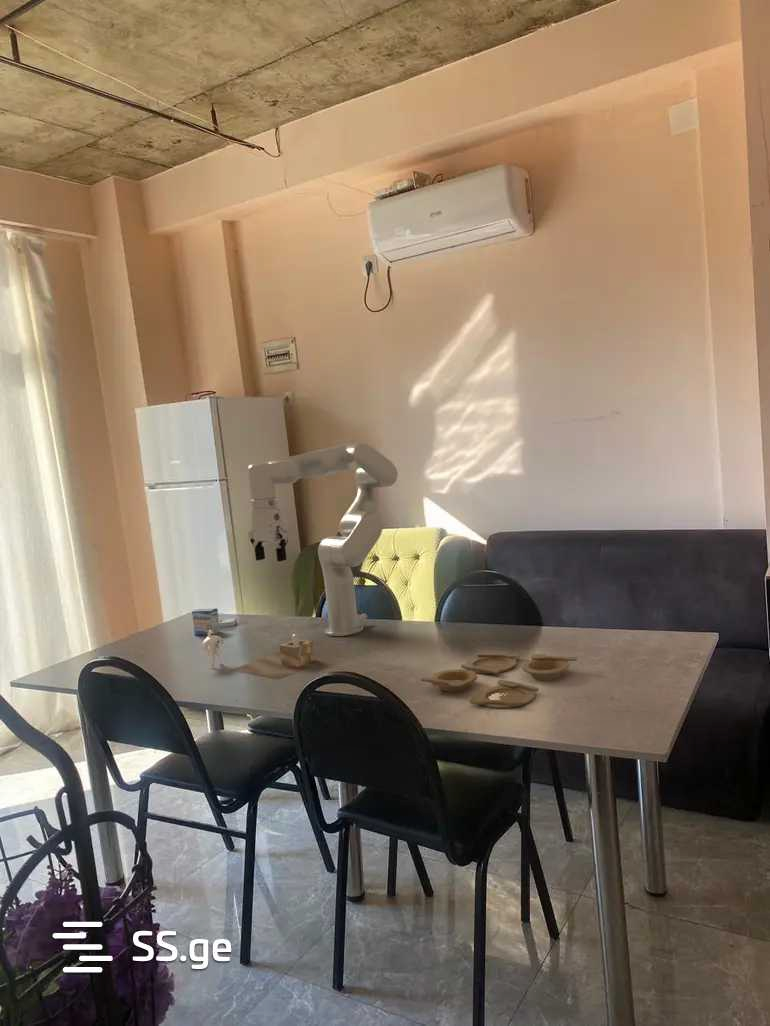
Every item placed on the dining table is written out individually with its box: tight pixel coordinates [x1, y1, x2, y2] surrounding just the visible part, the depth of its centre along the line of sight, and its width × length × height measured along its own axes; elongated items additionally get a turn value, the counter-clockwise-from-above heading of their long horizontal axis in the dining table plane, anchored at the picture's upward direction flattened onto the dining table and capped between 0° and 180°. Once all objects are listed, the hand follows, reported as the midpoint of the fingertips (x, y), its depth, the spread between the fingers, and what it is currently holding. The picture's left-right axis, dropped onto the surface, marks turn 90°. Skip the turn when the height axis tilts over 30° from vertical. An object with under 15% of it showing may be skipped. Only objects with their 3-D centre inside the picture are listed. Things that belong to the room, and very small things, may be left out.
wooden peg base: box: [230, 633, 326, 680], centre depth 212 cm, size 18×20×10 cm
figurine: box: [201, 630, 224, 669], centre depth 217 cm, size 7×4×12 cm, turn 138°
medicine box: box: [191, 608, 221, 636], centre depth 264 cm, size 8×4×9 cm, turn 73°
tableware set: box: [420, 652, 578, 709], centre depth 184 cm, size 35×29×4 cm
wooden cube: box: [279, 638, 316, 667], centre depth 212 cm, size 7×7×6 cm
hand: (271, 560), depth 229 cm, fingers open, 9 cm apart
